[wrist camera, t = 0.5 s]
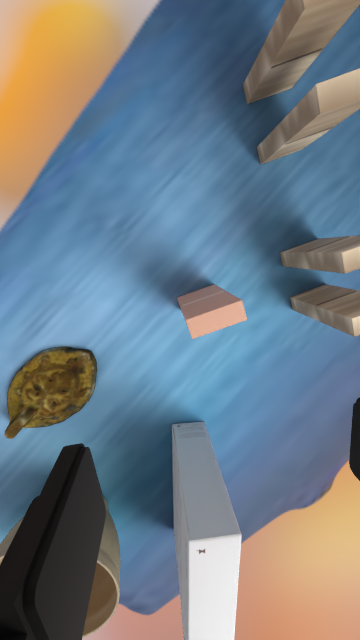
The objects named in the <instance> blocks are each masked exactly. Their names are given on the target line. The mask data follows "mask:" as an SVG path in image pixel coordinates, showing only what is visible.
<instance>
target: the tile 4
mask: <svg viewBox="0 0 360 640" xmlns="http://www.w3.org/2000/svg"><path fill="white" fill-rule="evenodd" d="M280 255H281V259H282V264H283V266H285V267H294V268H302V269H311V270H320V271H329V272H337V273H348V272H350V271H353V270H356V269H359V268H360V235H358V236H346V237H334V238H322V239H316V240H313V241H311V242H308V243H305V244H302V245H299V246H297V247H294V248H291V249H288V250H285V251H282V252H280Z"/></svg>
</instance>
